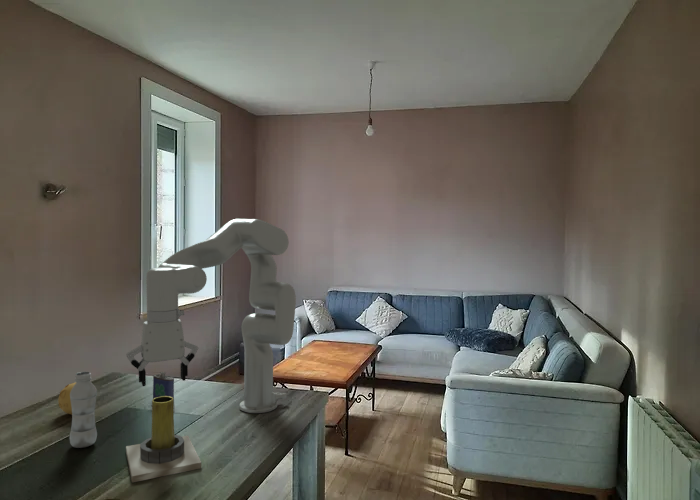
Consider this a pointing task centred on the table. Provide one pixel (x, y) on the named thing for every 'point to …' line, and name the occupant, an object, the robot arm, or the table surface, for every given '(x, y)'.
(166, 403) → the vase
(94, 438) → the plastic bottle
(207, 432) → the table surface
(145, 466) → the plate
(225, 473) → the table surface
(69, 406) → the stress ball
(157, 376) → the flask
